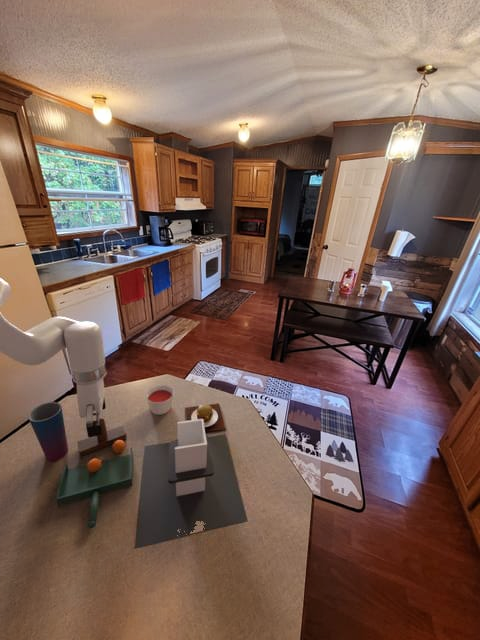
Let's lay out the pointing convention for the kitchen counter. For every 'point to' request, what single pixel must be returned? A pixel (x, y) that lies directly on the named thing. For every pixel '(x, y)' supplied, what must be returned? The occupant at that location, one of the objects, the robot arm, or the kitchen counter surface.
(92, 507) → the dustpan
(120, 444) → the crumb
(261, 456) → the kitchen counter surface
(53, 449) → the cup
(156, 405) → the candle
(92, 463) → the crumb
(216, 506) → the candle holder
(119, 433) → the brush
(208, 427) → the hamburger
